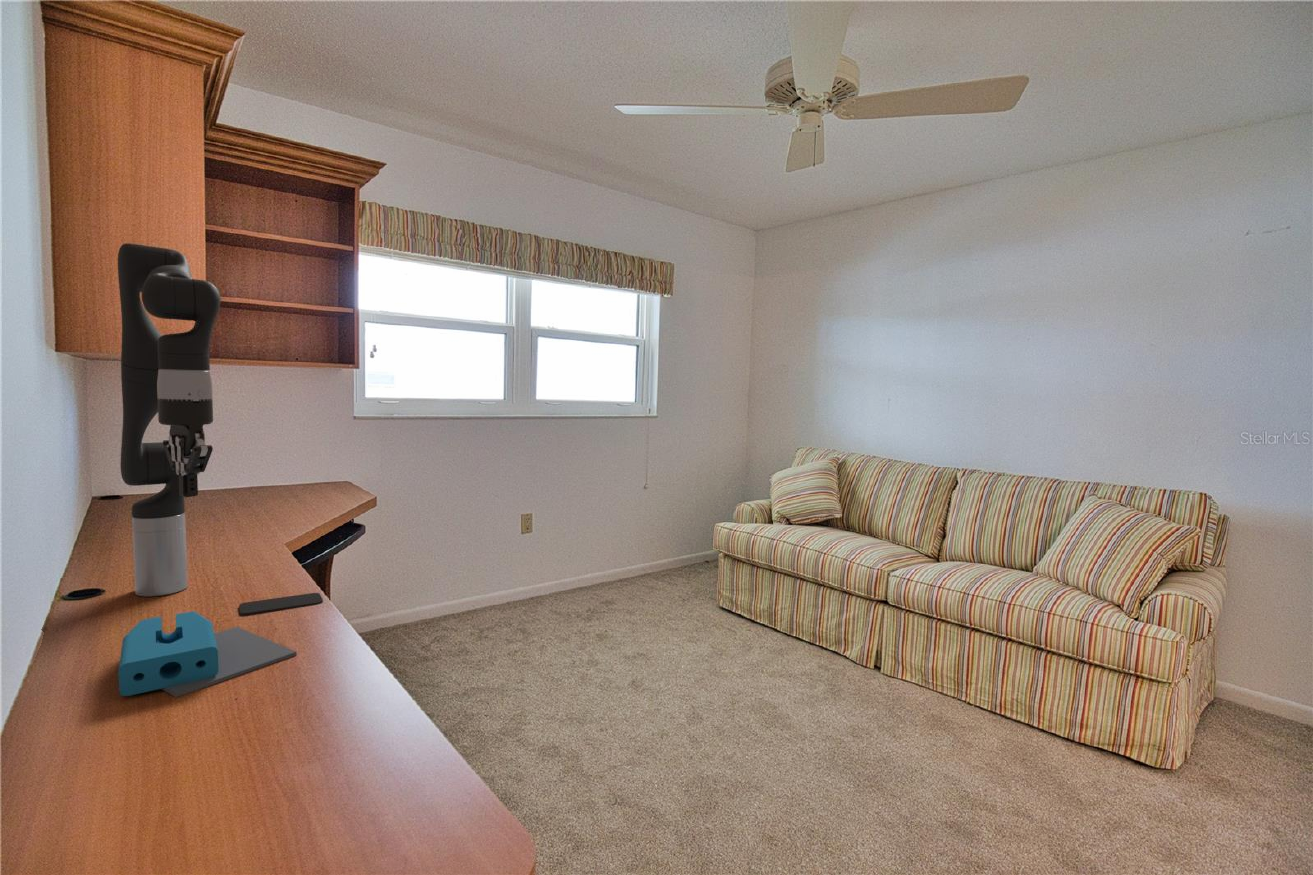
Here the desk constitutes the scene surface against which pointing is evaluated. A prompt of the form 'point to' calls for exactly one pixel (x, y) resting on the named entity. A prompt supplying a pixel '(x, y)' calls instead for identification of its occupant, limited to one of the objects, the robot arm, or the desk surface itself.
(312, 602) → the phone
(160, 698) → the desk surface
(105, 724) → the desk surface
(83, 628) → the desk surface
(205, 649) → the block
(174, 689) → the mat
